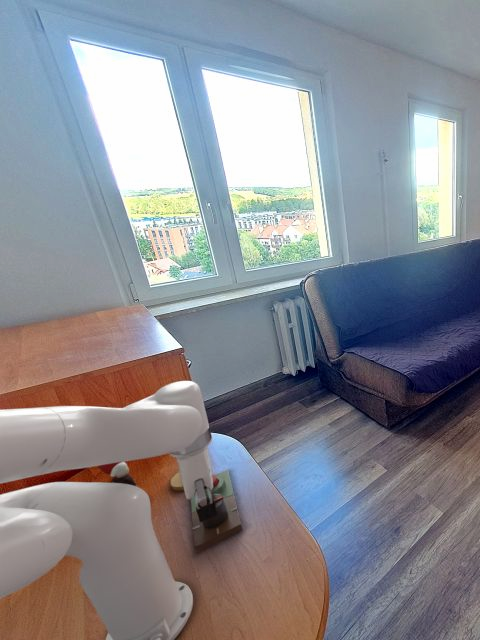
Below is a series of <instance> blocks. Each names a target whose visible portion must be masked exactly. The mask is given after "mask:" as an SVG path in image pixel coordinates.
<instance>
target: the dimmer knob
mask: <svg viewBox="0 0 480 640" xmlns="http://www.w3.org/2000/svg"><path fill="white" fill-rule="evenodd" d="M211 496H212V500H213V499H214V502H215V506H216V510H217V515H216V516H214V517H212V518H210V519H208V520H205V521H203V522H202V523H203V526H204V527H205V528H214V527H217V526H219V525H220V524H222V523H223V522H224V521H225V520H226V518H227V516H228V512H227V508H226V505H225V501H224V498H223V496H222V495H221V494H213V495H211ZM206 498H208V497H206ZM208 499H209V498H208Z"/></svg>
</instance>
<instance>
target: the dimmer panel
mask: <svg viewBox="0 0 480 640" xmlns="http://www.w3.org/2000/svg"><path fill="white" fill-rule="evenodd" d="M234 496H235V494H234V495H232V496H229V497H227V498H225V499H224V501H225V505H226V508H227V512H228V516H227V518H226V520H225V521H224V522H223V523H222V524H220V525H219V526H217V527H214V528H205V527H204V526H203V523H202V522H200V521H199V517H198V514H197V511H196V512H194V513H192V512H191V514H190V515H191V523H192V528H191V531H192V535H193V546H194V550H195V552H196V554H199V553H200V552H202V551H204V550H206V549H208V548H210V547H212V546H214V545H216V544H218V543H221V542H222V541H224V540H225V539H226V540H227V539H228V538H230V537H232V536H234V535H236V534H238V533H239V532H242V531H243V530H244V529H243V525H242V521H241V518H240V513H239V510H238V509H239V508H238V505H237V501H236V496H235V497H234Z"/></svg>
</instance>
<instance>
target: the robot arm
mask: <svg viewBox="0 0 480 640" xmlns="http://www.w3.org/2000/svg"><path fill="white" fill-rule="evenodd" d="M212 441H213V436H212V431H211V428H210V424H209V420H208V415H207V411H206V407H205V402H204V399H203V394H202V391H201V387H200V385H199V384H198V383H196V382H195V381H191V380H180V381H175V382H171V383H168V384H165V385H164V386H162V387H160V388H159V389H158V390H157V391H156V392H155V393H153V394H151V395H150V396H147V397H144V398H143V399H139V400H138V401H135V402H133V403H131V404H128V405H126V406H124V407H108V406H107V407H104V406H94V405H93V406H92V405H91V406H90V405H55V406H40V407H27V408H23V407H22V408H7V409H5V408H4V409H0V485H1V484H5V483H9V482H14V481H18V480H23V479H28V478H33V477H38V476H42V475H46V474H52V473H55V472H61V471H71V470H79V469H86V468H93V467H98V466H99V465H105V464H111V463H117V462H124V461H127V462H130V461H137V460H142V459H150V458H155V457H159V456H163V455H167V454H169V456H170V457H173V458H176V462H177V466H178V472H179V471H180V475H181V479H182V483H183V487H184V490H183V491H184V496H185V499H186V500H191V498H193V497H195V501H196V510H197V514H198V517H199V521H200V522H203V521H205V520H208V519H210V518H212V517H214V516H216V515H217V510H216V506H215V502H214V499H213V500H212V496H211V492H210V491H211V490H212V488H213V479H212V475H213V471H212V463H211V457H210V453H209V449H208V447H209V446H210V445H211V443H212ZM204 489H205V490H204ZM196 491H197V493H196ZM206 492H207V493H208V498H209V499H208V498H206V495H205V493H206ZM151 507H152V506H151V500H150V497H149V495H148V493H147V492H146V491H145V490H144V489H143V488H141V487H139V486H137V487H136V486H133V485H129V484H123V483H114V482H103V481H101V482H99V481H91V482H87V481H86V482H85V481H84V482H83V481H54V482H47V483H42V484H37V485H32V486H28V487H24V488H21V489H17V490H13V491H8V492H5V493H1V494H0V600H1V599H3V598H6V597H7V596H10V595H12V594H14V593H16V592H18V591H20V590H22V589H23V588H26V587H28V586H29V585H31V584H33V583H34V582H36V581H38V580H39V579H41V578H42V577H43V576H45V575H46V574H48V573H49V572H50V571H51V570H52V569H54V568H55V567H56V566H57V565H58V564H59V563H60V562H61V560H62V559H63V558H65V557H73V558H77V559H78V560H80V561H81V563H82V565H81V567H80V569H79V572H78V580H79V584H80V586H81V588H82V590H83V592H84V594H85V595H86V597H87V599H88V600H89V601H90V603H91V605H92V607H93V608H94V610H95V612H96V614H97V615H98V617H99V619H100V620H101V622H102V625H104V627H105V630H106V631H107V634H106V637H105V640H175V639H176V638H177V636H178V635H180V633H181V632H182V630H183V629H184V627H185V626H186V624H187V622H188V621H189V618H190V616H191V614H192V611H193V608H194V607H193V606H194V595H193V592H192V589H190V587H189V585H187V584H186V583H184V582H181V581H176V580H175V578H174V576H173V573H172V571H171V569H170V566H169V564H168V562H167V559H166V556H165V553H164V552H163V550H162V547H161V545H160V543H159V540H158V538H157V535H156V533H155V530H154V526H153V520H152V508H151Z"/></svg>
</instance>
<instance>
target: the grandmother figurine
mask: <svg viewBox="0 0 480 640" xmlns="http://www.w3.org/2000/svg"><path fill="white" fill-rule="evenodd" d="M129 473H130V468H129V467H128V463H127V464H126V463H125V462H122V463H119V464H117V465H116V466H115V467H114V468H113V470H112V472H111V474H110V475H109V477H111V478H113V479H112V483H123V484H129V485H133V486H136V487H138V485H137V483H136V482H135V480H134V478H133V476H132V475H130V474H129Z"/></svg>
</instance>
